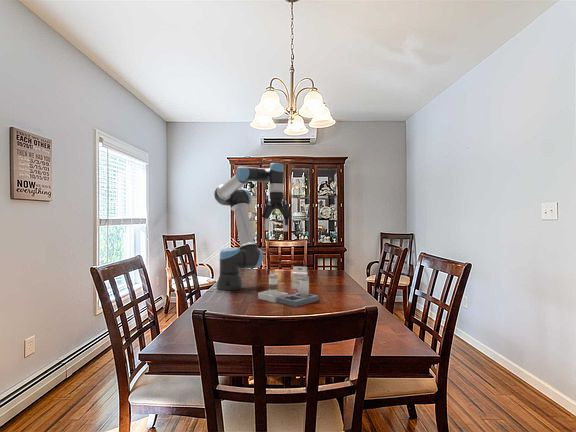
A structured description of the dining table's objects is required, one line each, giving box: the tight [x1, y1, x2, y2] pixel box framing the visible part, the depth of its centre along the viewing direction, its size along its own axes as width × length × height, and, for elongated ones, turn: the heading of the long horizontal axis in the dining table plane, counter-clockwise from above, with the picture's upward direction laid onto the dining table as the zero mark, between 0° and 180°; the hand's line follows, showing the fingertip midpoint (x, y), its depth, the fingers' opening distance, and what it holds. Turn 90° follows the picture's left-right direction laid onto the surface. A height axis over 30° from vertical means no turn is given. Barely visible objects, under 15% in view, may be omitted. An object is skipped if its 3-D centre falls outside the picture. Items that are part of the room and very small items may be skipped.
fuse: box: [300, 276, 310, 297], centre depth 185 cm, size 5×5×12 cm
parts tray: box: [257, 290, 289, 303], centre depth 187 cm, size 12×10×3 cm
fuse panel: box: [276, 292, 320, 308], centre depth 182 cm, size 12×18×3 cm, turn 138°
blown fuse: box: [268, 273, 279, 296], centre depth 187 cm, size 5×5×12 cm
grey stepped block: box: [291, 265, 309, 294], centre depth 201 cm, size 9×5×15 cm, turn 84°
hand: (276, 230), depth 197 cm, fingers open, 13 cm apart
